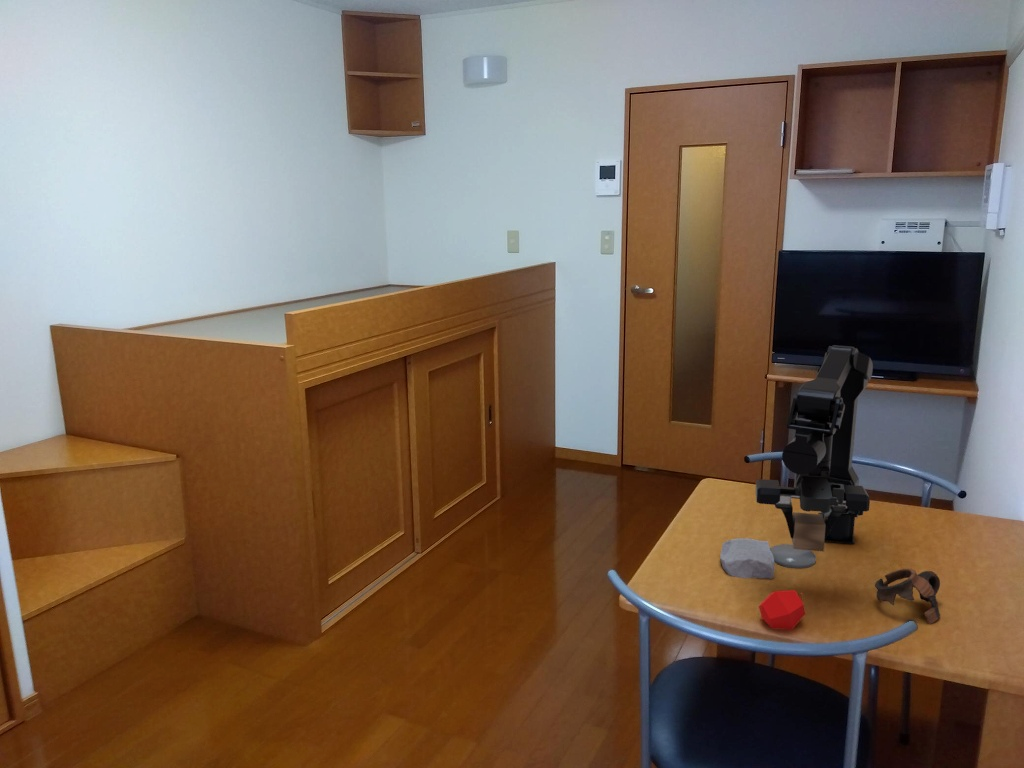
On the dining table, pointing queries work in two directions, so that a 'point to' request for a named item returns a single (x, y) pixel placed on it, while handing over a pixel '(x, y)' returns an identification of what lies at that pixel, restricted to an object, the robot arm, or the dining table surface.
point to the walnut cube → (808, 531)
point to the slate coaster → (792, 556)
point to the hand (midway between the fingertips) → (807, 538)
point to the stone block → (747, 558)
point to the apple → (782, 609)
